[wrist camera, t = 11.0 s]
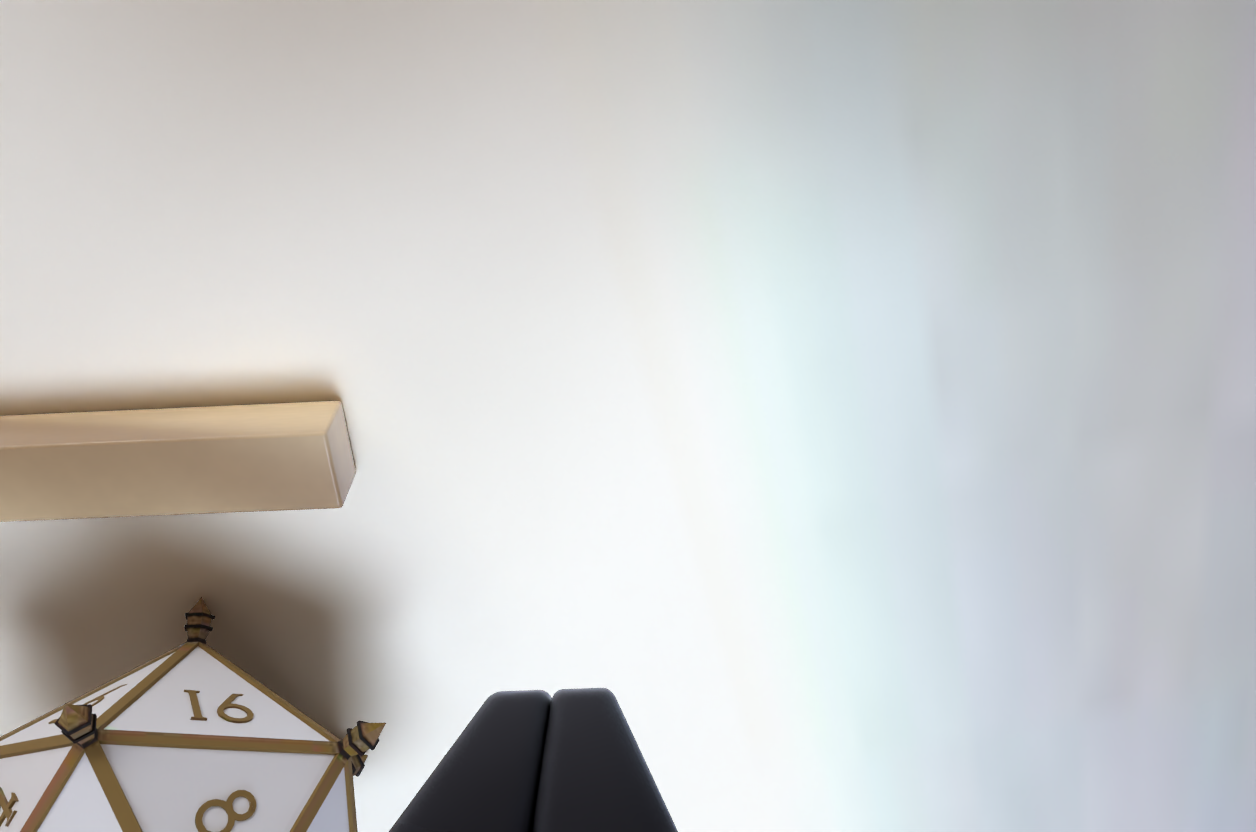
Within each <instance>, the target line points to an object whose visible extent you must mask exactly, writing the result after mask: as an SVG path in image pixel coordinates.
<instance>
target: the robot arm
mask: <svg viewBox="0 0 1256 832" xmlns="http://www.w3.org/2000/svg"><path fill="white" fill-rule="evenodd" d="M389 832H678V831H677V829H676V827H675V825H674V822H673V820H672V818H671V816H670V814H669V812H668V809H667V807H666V805H665V803H664V801H663V799H662V797H661V794H660V792H659V790H658V788H657V786H656V784H655V781H654V779H653V777H652V775H651V773H650V771H649V769H648V766H647V764H646V762H645V760H644V758H643V756H642V753H641V751H640V749H639V747H638V745H637V743H636V741H635V738H634V736H633V734H632V732H631V730H630V728H629V725H628V723H627V721H626V719H625V717H624V715H623V713H622V710H621V708H620V706H619V704H618V702H617V700H616V698H615V696H614V694H613V693H612V692H611V691H610V690H608V689H606V688H588V689H562V690H559V691H557V692H556V693H555V694H554V696H553V698H551V696H550V695H549V694H548V693H547V692H545V691H543V690H530V691H502V692H497V693H494V694H493V695H491V696H490V697H488V699H487V700H486V701H485V702H484V704H483V705H482V706H481V708H480V709H479V711H478V712H477V713H476V715H475V716H474V717H473V719H472V720H471V721H470V723H469V724H468V725H467V727H466V728H465V729H464V731H463V732H462V734H461V735H460V736H459V738H458V739H457V740H456V742H455V743H454V744H453V746H452V747H451V748H450V750H449V751H448V752H447V754H446V755H445V757H444V758H443V759H442V761H441V762H440V763H439V765H438V766H437V767H436V769H435V770H434V771H433V773H432V774H431V775H430V777H429V778H428V780H427V781H426V782H425V784H424V785H423V786H422V788H421V789H420V790H419V792H418V793H417V794H416V796H415V797H414V798H413V800H412V801H411V802H410V804H409V805H408V807H407V808H406V809H405V811H404V812H403V813H402V815H401V816H400V817H399V819H398V820H397V821H396V823H395V824H394V825H393V827H392V828H391V830H390V831H389Z"/></svg>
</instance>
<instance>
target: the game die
mask: <svg viewBox="0 0 1256 832" xmlns="http://www.w3.org/2000/svg"><path fill="white" fill-rule="evenodd" d="M185 616H186V619H187V625H185V626H184V628H185V631H187V633H188V640H187V642H186V643H184V644H182V645H180V646H178V647H176V648H174V649H172V650H170V651H168V652H166V653H164V654H162V655H160V656H158V657H156V658H154V659H153V660H151V661H149V662H147V663H145V664H143V665H141V666H139V667H137V668H135V669H133V670H131V671H129V672H127V673H125V674H123V675H121V676H119V677H117V678H115V679H113V680H111V681H109V682H107V683H105V684H103V685H101V686H99V687H98V688H96V689H94V690H92V691H90V692H88V693H86V694H84V695H82V696H80V697H78V698H76V699H74V700H72V701H70V702H68V703H65V704H64V705H62V706H60V707H58V708H56V709H54V710H52V711H50V712H48V713H46V714H44V715H43V716H41V717H39V718H37V719H35V720H33V721H31V722H29V723H27V724H25V725H23V726H21V727H19V728H17V729H15V730H13V731H11V732H9V733H7V734H5V735H3V736H1V737H0V832H357V821H356V809H355V797H354V786H353V776H354V775H356V776H359V775H360V773H361V771H362V770H363V768H364V766H365V765H364V762H365V760H366V758H367V756H368V755H364V754H365V752H366V750H368V749H371V750H374V749H375V747H376V745H377V743H378V742H379V739H378V737H379V735H380V733H381V731H382V729H383V728H384V726H385V724H386V723H368V722H363V721H358V722H357V726H356V727H355V728H353V729H351V728H349V729H347V734H346V736H345V737H344V738H343V740H340V739H339V738H338V737H336V736H335V735H333V734H332V733H331V732H329V731H328V730H326V729H325V728H324V727H322V726H321V725H319V724H318V723H317V722H315V721H314V720H312V719H311V718H309V717H308V716H307V715H305V714H304V713H302V712H301V711H300V710H298V709H297V708H295V707H294V706H293V705H291V704H290V703H288V702H287V701H286V700H284V699H283V698H281V697H280V696H279V695H277V694H276V693H274V692H273V691H272V690H270V689H269V688H267V687H266V686H264V685H263V684H262V683H260V682H259V681H257V680H256V679H255V678H253V677H252V676H250V675H249V674H248V673H246V672H245V671H243V670H242V669H241V668H239V667H238V666H236V665H235V664H234V663H232V662H231V661H229V660H228V659H227V658H225V657H224V656H222V655H221V654H220V653H218V652H217V651H215V650H214V649H212V648H211V647H210V646H208V645H207V644H206V640H205V639H206V637H207V635H208V633H209V631H212V630H213V628H212V627H210V626H211V621H212V619H215V616H213V615H211V613H210V611H209V609H208V608H207V606H206V604H205V602H204V600H203V598H202V597H201V598H200V599H199V601H198V602H197V603H196V604H195V606H194V607H193V608H192V609H191V610H190V612H189V613H185Z"/></svg>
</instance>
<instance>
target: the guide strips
mask: <svg viewBox="0 0 1256 832" xmlns="http://www.w3.org/2000/svg"><path fill="white" fill-rule="evenodd" d="M355 474H356V469H355V465H354V460H353V455H352V450H351V445H350V441H349V436H348V431H347V426H346V421H345V417H344V412H343V407H342V403H341V402H340V401H321V402H298V403H276V404H253V405H231V406H208V407H186V408H164V409H141V410H119V411H96V412H74V413H51V414H29V415H7V416H0V522H10V521H35V520H59V519H83V518H108V517H132V516H156V515H181V514H205V513H229V512H254V511H278V510H302V509H327V508H340V507H342V506H343V504H344V501H345V499H346V496H347V494H348V491H349V489H350V487H351V484H352V482H353V479H354V477H355Z"/></svg>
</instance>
